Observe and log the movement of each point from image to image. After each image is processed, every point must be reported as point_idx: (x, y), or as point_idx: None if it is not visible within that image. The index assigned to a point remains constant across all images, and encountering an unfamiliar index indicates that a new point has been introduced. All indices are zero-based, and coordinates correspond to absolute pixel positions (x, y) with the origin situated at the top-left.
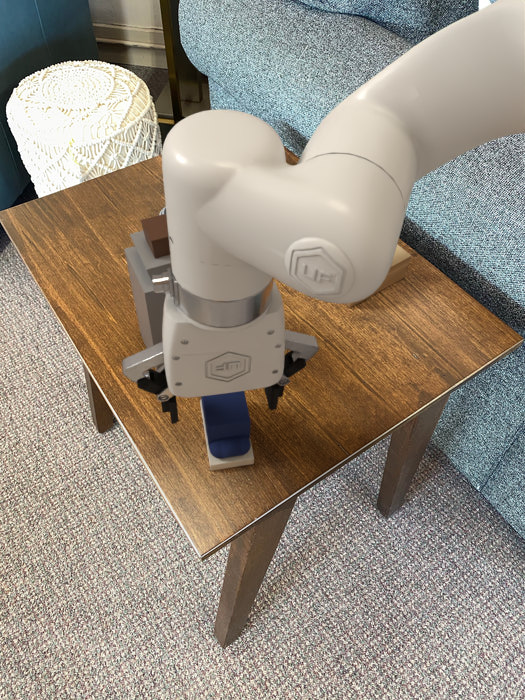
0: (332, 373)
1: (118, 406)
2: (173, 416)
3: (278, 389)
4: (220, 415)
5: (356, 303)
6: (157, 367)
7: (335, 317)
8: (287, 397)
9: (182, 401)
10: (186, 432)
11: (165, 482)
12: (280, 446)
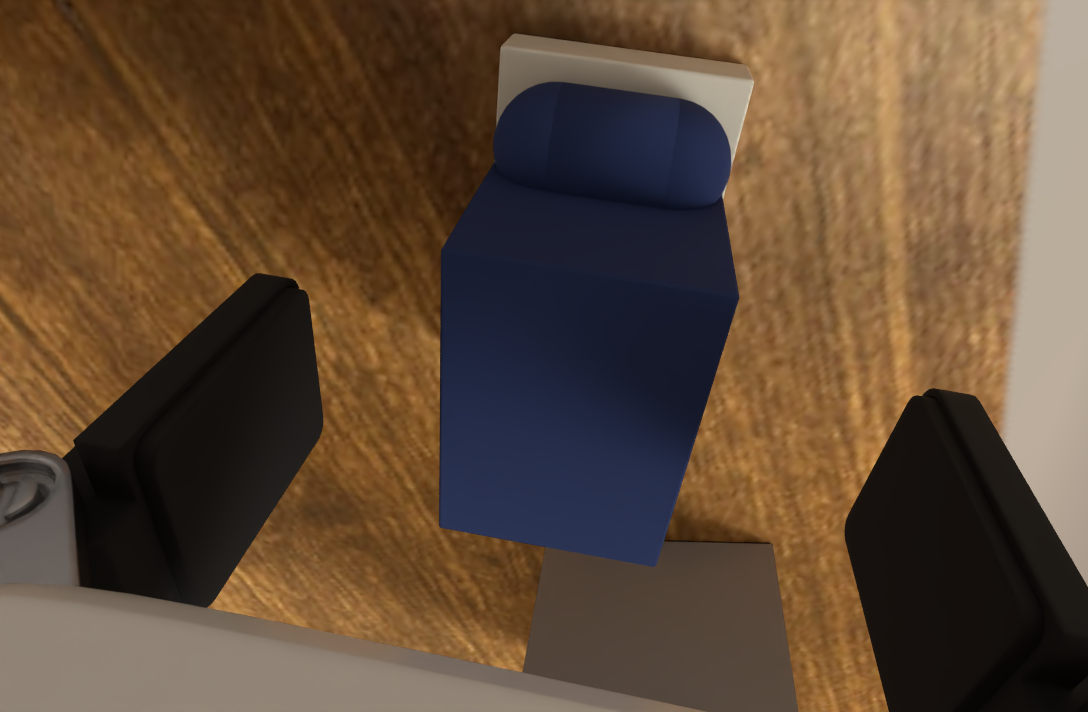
0: (107, 350)
1: None
2: (994, 460)
3: (92, 433)
4: (624, 346)
5: None
6: (777, 587)
7: None
8: None
9: (727, 430)
10: (772, 302)
11: (1012, 73)
12: (359, 92)
